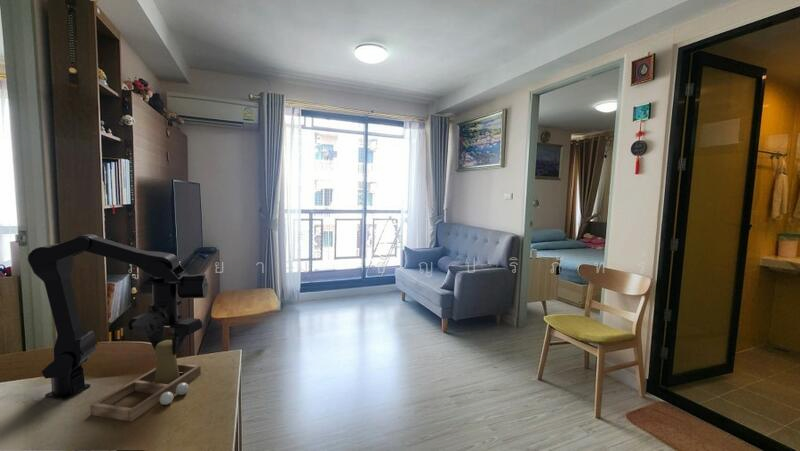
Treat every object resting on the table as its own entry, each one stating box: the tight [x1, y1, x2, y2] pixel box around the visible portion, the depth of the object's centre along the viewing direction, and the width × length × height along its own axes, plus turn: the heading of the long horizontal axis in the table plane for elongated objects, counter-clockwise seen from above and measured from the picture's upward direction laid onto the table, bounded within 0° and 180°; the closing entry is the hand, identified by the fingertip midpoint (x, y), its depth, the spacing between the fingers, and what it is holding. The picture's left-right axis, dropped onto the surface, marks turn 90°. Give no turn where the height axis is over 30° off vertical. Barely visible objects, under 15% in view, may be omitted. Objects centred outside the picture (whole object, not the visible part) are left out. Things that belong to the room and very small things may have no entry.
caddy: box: [90, 362, 202, 422], centre depth 92 cm, size 12×22×2 cm, turn 171°
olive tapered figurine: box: [154, 339, 181, 384], centre depth 97 cm, size 6×6×11 cm
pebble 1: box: [159, 392, 175, 406], centre depth 87 cm, size 3×3×3 cm
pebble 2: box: [175, 383, 189, 396], centre depth 92 cm, size 3×3×3 cm
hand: (166, 353), depth 97 cm, fingers open, 5 cm apart
